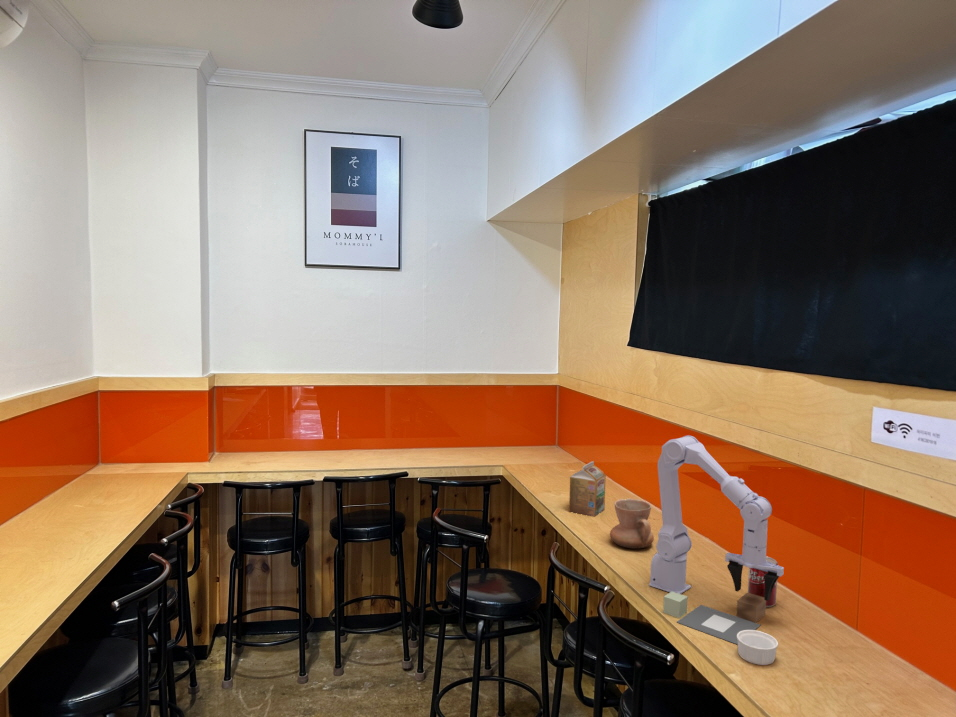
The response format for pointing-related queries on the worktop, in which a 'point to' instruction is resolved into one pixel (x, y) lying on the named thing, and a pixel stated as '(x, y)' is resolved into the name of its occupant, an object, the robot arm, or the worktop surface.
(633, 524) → the ceramic jug
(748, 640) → the ramekin
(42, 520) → the worktop surface
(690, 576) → the worktop surface
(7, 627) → the worktop surface
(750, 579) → the soda can
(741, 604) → the walnut base block
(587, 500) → the milk carton
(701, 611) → the gray mat
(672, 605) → the sage cube
